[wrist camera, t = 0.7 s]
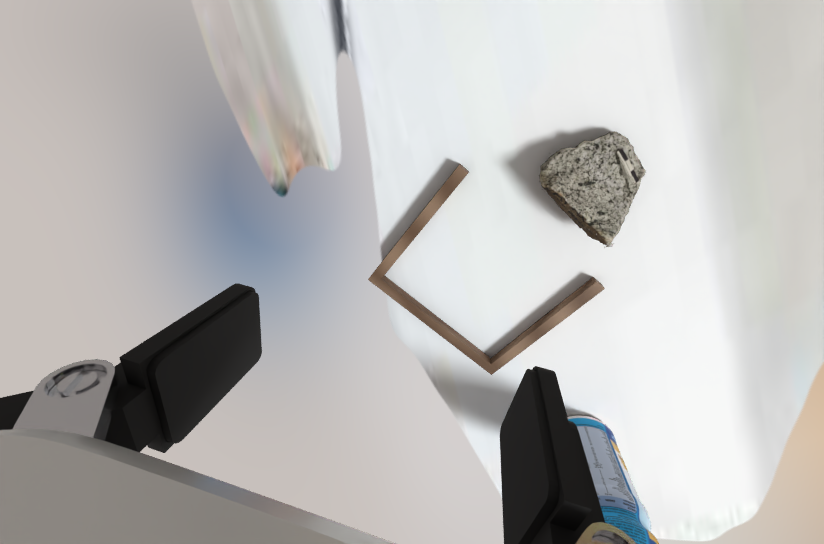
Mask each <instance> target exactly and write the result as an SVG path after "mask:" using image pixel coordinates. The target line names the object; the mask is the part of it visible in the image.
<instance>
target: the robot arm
mask: <svg viewBox="0 0 824 544" xmlns="http://www.w3.org/2000/svg"><path fill="white" fill-rule="evenodd" d="M261 353H262V347H261V329H260V311H259V296H258V294H257V293H256V292H255V289H254V288H252V287H249V286H245V285H242V284H234V285H232V286H231V287H229V288H227V289H226V290H224V291H223V292H221V293H220V294H218V295H216V296H215V297H213V298H212V299H210V300H209V301H207V302H205V303H204V304H202V305H201V306H199V307H198V308H196V309H194V310H193V311H191V312H190V313H188V314H187V315H185V316H184V317H182V318H180V319H179V320H178V321H176V322H174V323H173V324H171V325H170V326H168V327H166V328H165V329H163V330H162V331H160V332H159V333H157V334H156V335H154V336H152V337H151V338H149V339H147V340H146V341H144V342H143V343H141V344H140V345H138V346H137V347H135V348H133V349H132V350H130V351H129V352H127V353H126V354H124V355H122V356H121V357H120V360H121V363H119V364H118V365H116V366H115V367H114V366H113V364H112V363H110V362H108V361H106V360H98V359H95V360H85V361H80V362H76V363H72V364H70V365H67V366H64V367H62V368H60V369H58V370H56V371H54V372H52V373H50V374H49V375H48V376H46V377H45V378H44V379H43V380H41V382H40V383H39V384H38V386H36V388H35V390H34V391H31V392H26V393H21V394H16V395H12V396H7V397H3V398H0V544H396V543H393V542H390V541H387V540H385V539H382V538H379V537H376V536H374V535H371V534H368V533H365V532H363V531H360V530H357V529H354V528H352V527H349V526H346V525H343V524H341V523H338V522H335V521H332V520H330V519H327V518H324V517H321V516H318V515H316V514H313V513H310V512H307V511H304V510H302V509H299V508H296V507H293V506H291V505H288V504H285V503H282V502H279V501H276V500H274V499H271V498H268V497H265V496H262V495H260V494H257V493H254V492H251V491H248V490H246V489H243V488H240V487H237V486H234V485H232V484H229V483H226V482H223V481H220V480H217V479H214V478H212V477H209V476H206V475H203V474H200V473H197V472H195V471H192V470H189V469H186V468H183V467H180V466H177V465H174V464H172V463H169V462H166V461H163V460H160V459H157V458H155V457H152V456H149V455H145V454H143V453H140V451H141V450H142V449H143V448H144V447H146V445H148V447H149V448H151V449H154V450H157V451H160V452H163V453H165V452H166V451H167V450H168V449H169V448H170V447H171V446H172V445H173V444H174V443H179V442H180V441H182V440H183V439H184V438H185V437H186V436H187V435H188V434H189V433H190V432H191V430H193V428H194V427H195V426H196V425H197V424H198V423H199V422H200V421H201V420H202V419H203V418H204V417H205V416H206V415H207V414H208V413H209V412H210V411H211V410H212V409H213V408H214V407H215V405H216V404H217V403H218V402H219V401H220V400H221V399H222V398H223V397H224V396H225V395H226V394H227V393H228V392H229V391H230V390H231V389H232V388H233V387H234V386H235V385H236V384H237V382H238V381H239V380H241V378H242V377H243V376H244V375H245V374H246V373H247V372H248V371H249V370H250V369H251V368H252V367H253V366H254V365H255V364H256V363H257V362H258V360H259V359H260V357H261ZM500 451H501V476H502V502H503V525H504V526H503V527H504V544H636V542H635V541H634V540H633V539H632V538H631V537H629V536H628V535H627V534H626V533H624V532H623V531H622V530H620V529H618V528H616V527H615V526H613V525H611V524H607V523H605V520H604V516H603V513H602V509H601V506H600V503H599V499H598V496H597V492H596V489H595V486H594V482H593V479H592V475H591V472H590V469H589V465H588V462H587V458H586V455H585V451H584V448H583V445H582V441H581V438H580V434H579V431H578V428H577V426H576V424H575V423H574V422H572V421H568V418H567V414H566V410H565V407H564V403H563V399H562V396H561V392H560V388H559V385H558V381H557V377H556V374H555V372H554V371H551V370H548V369H544V368H541V367H537V366H535V367H534V368H533V369H532V370H530V369H527V370H526V372H525V374H524V376H523V379H522V381H521V383H520V385H519V388H518V390H517V392H516V394H515V396H514V399H513V401H512V403H511V405H510V408H509V410H508V412H507V414H506V416H505V419H504V421H503V423H502V426H501V430H500Z"/></svg>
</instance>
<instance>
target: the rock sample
mask: <svg viewBox="0 0 824 544" xmlns="http://www.w3.org/2000/svg"><path fill="white" fill-rule="evenodd" d="M645 172H646V171H645V169H644V168H643V167H642V165H641V162H640V160H639V159H638V157H637V156H636V154H635V153H634V150H633V146H632V145H631V144H630V142H629V140H628V138H626V137H624V136H622V135H621V134H618V132H609V133H608V134H606V135H604V136H601V137H599V138H597V139H595V140H593V141H583V142H581V143H580V144H579V145H578V146H576V147H575V148H564V149H561V150H559V151H558V152H556V153H555V154H554V155H552V156H551V157H549V159H548V160H547V161H546V162H545V163H544V164H542V166H541V173H540V182H541V185H542V187H543V188H544V189H545V190H546V191H547V193H548V194H549V195H550V196H551V197H552V198H553V199H554V200H555V201H556V203H557V205H558V206H559V207H560V208H561V209H562V210H563V211H564V212H565V213H566V214H567V215H568V216H569V217H570V218H571V219H572V220H573V221H574V222H575V224H577V225H578V226H579V228H582V229H583V230H584V231H585V232H586V234H587V235H588V236H589V237H591V238H592V239H595V240H598V241H600V242H601V243H603V244H605V245H607V246H606V247H612V246H613V244H614V243H613V244H612V243H611V242H612V241H613V239H614V237H615V236H616V235H617V234H618V232H619V231H620V228H621V225H622V223H623V222H624V219H625V216H626V215H627V214H628V212H629V208H630V206H631V203H632V201H633V199H634V196H635V195H636V193H637V191H638V189H639V186H640V182H641V178H642V177H643V176H644V175H645ZM606 247H605V248H606Z"/></svg>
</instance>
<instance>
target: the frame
mask: <svg viewBox="0 0 824 544" xmlns="http://www.w3.org/2000/svg"><path fill="white" fill-rule="evenodd" d="M468 172H469V171H468V170H467V169H465V168H464V167H463V166H462V165H461V164H459V166H458V167H457V168H456V169H455V171H454V172H453V173H452V175H451V176H450V177H449V178H448V180H447V181H446V182H445V183H444V185H443V186H442V187H441V188H440V190H439V191H438V192H437V193H436V195H435V196H434V197H433V198H432V200H431V201H430V202H429V203H428V205H427V206H426V207H425V208H424V210H423V211H422V212H421V213H420V215H419V216H418V217H417V218H416V220H415V221H414V222H413V224H412V225H411V226H410V227H409V229H408V230H407V231H406V232H405V234H404V235H403V236H402V237H401V239H400V240H399V241H398V242H397V244H396V245H395V246H394V247H393V249H392V250H391V251H390V252H389V254H388V255H387V256H386V257H385V259H384V260H383V261H382V262H381V264H380V265H379V266H378V268H377V269H376V270H375V272H374V273H373V274H372V275H371V277H370V278H369V279H368V280H369V281H370V282H372V283H373V284H374V285H376V286H377V287H378V288H380V289H381V290H382V291H383V292H385V293H386V294H387V295H389V296H390V297H391V298H392V299H394V300H395V301H396V302H398V303H399V304H400V305H402V306H403V307H404V308H405V309H407V310H408V311H409V312H411V313H412V314H413V315H415V316H416V317H417V318H418V319H420V320H421V321H422V322H424V323H425V324H426V325H427V326H429V327H430V328H431V329H433V330H434V331H435V332H437V333H438V334H439V335H440V336H442V337H443V338H444V339H446V340H447V341H448V342H450V343H451V344H452V345H453V346H455V347H456V348H457V349H459V350H460V351H461V352H463V353H464V354H465V355H466V356H468V357H469V358H470V359H472V360H473V361H474V362H475V363H477V364H478V365H479V366H481V367H482V368H483V369H485V370H486V371H487V372H488V373H490V374H491V375H492V374H493V373H495V372H496V371H497V370H498V369H500V368H501V367H502V366H504V365H505V364H506V363H508V362H509V361H510V360H512V359H513V358H514V357H516V356H517V355H518V354H520V353H521V352H522V351H523V350H525V349H526V348H527V347H529V346H530V345H531V344H533V343H534V342H535V341H537V340H538V339H539V338H541V337H542V336H543V335H545V334H546V333H547V332H548V331H550V330H551V329H552V328H554V327H555V326H556V325H558V324H559V323H560V322H562V321H563V320H564V319H566V318H567V317H568V316H570V315H571V314H572V313H573V312H575V311H576V310H577V309H579V308H580V307H581V306H583V305H584V304H585V303H587V302H588V301H589V300H591V299H592V298H593V297H595V296H596V295H597V294H598V293H600V292H601V291H602V290H604V289H605V288H604V287H603V285H602V284H601V283H600V282H599V281H597V280H596V279H595V278H594V277H593V278H591V279H590V280H589V281H588V282H586V283H585V284H584V285H583V286H581V287H580V288H579V289H577V290H576V291H575V292H574V293H572V294H571V295H570V296H569V297H567V298H566V299H565V300H564V301H562V302H561V303H560V304H559V305H557V306H556V307H555V308H554V309H552V310H551V311H550V312H549V313H547V314H546V315H545V316H543V317H542V318H541V319H540V320H538V321H537V322H536V323H535V324H533V325H532V326H531V327H530V328H528V329H527V330H526V331H525V332H523V333H522V334H521V335H520V336H518V337H517V338H516V339H515V340H513V341H512V342H511V343H509V344H508V345H507V346H506V347H504V348H503V349H502V350H501V351H499V352H498V353H497V354H496V355H494V356H493V357H492V358H490V357H488V356H487V355H486V354H485V353H483V352H482V351H481V350H479V349H478V348H477V347H476V346H474V345H473V344H472V343H470V342H469V341H468V340H467V339H465V338H464V337H463V336H461V335H460V334H459V333H458V332H456V331H455V330H454V329H452V328H451V327H450V326H449V325H447V324H446V323H445V322H443V321H442V320H441V319H440V318H438V317H437V316H436V315H434V314H433V313H432V312H431V311H429V310H428V309H427V308H425V307H424V306H423V305H422V304H420V303H419V302H418V301H416V300H415V299H414V298H413V297H411V296H410V295H409V294H407V293H406V292H405V291H404V290H402V289H401V288H400V287H398V286H397V285H396V284H395V283H393V282H392V281H391V280H389V279H388V278H387V277H386V276H384V275H385V274H386V272H387V271H388V270H389V269H390V268H391V266H392V265H393V264H394V263H395V261H396V260H397V259H398V258H399V257H400V255H401V254H402V253H403V252H404V251H405V249H406V248H407V247H408V246H409V244H410V243H411V242H412V241H413V240H414V238H415V237H416V236H417V235H418V233H419V232H420V231H421V230H422V229H423V227H424V226H425V225H426V224H427V223H428V221H429V220H430V219H431V218H432V216H433V215H434V214H435V213H436V212H437V210H438V209H439V208H440V207H441V206H442V204H443V203H444V202H445V201H446V199H447V198H448V197H449V196H450V195H451V193H452V192H453V191H454V190H455V188H456V187H457V186H458V185H459V184H460V182H461V181H462V180H463V179H464V178H465V176H466V175H467V174H468Z"/></svg>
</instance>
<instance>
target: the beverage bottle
mask: <svg viewBox="0 0 824 544" xmlns="http://www.w3.org/2000/svg"><path fill="white" fill-rule="evenodd" d="M567 418H568V421H572V422H574V423H575V424H576V426H577V428H578V431H579V434H580V438H581V441H582V445H583V448H584V451H585V455H586V458H587V462H588V465H589V469H590V472H591V475H592V479H593V482H594V486H595V489H596V492H597V496H598V499H599V503H600V506H601V509H602V513H603V516H604V520H605V523H607V524H611V525H613V526H615V527H616V528H618V529H620V530H622V531H623V532H624V533H626V534H627V535H628V536H629V537H631V538H632V539H633V540H634V541H635V542H636V544H659V543H658V541H657V539H656V538H655V536H654V535H653V534H652V533H651V522H650V519H649V516H648V513H647V511H646V509H645V507H644V505H643V504H642V503H641V501H640V499H639V497H638V494H637V492H636V489H635V487H634V485H633V482H632V480H631V478H630V475H629V473H628V471H627V468H626V466H625V463H624V461H623V459H622V456H621V454H620V452H619V449H618V447H617V444H616V440H615V438H614V435H613V433H612V431H611V430H610V428H609V427H608V426H607V425H606V424H604V423H603V422H601V421H600V420H598V419H595V418H592V417H588V416H569V417H567Z"/></svg>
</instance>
